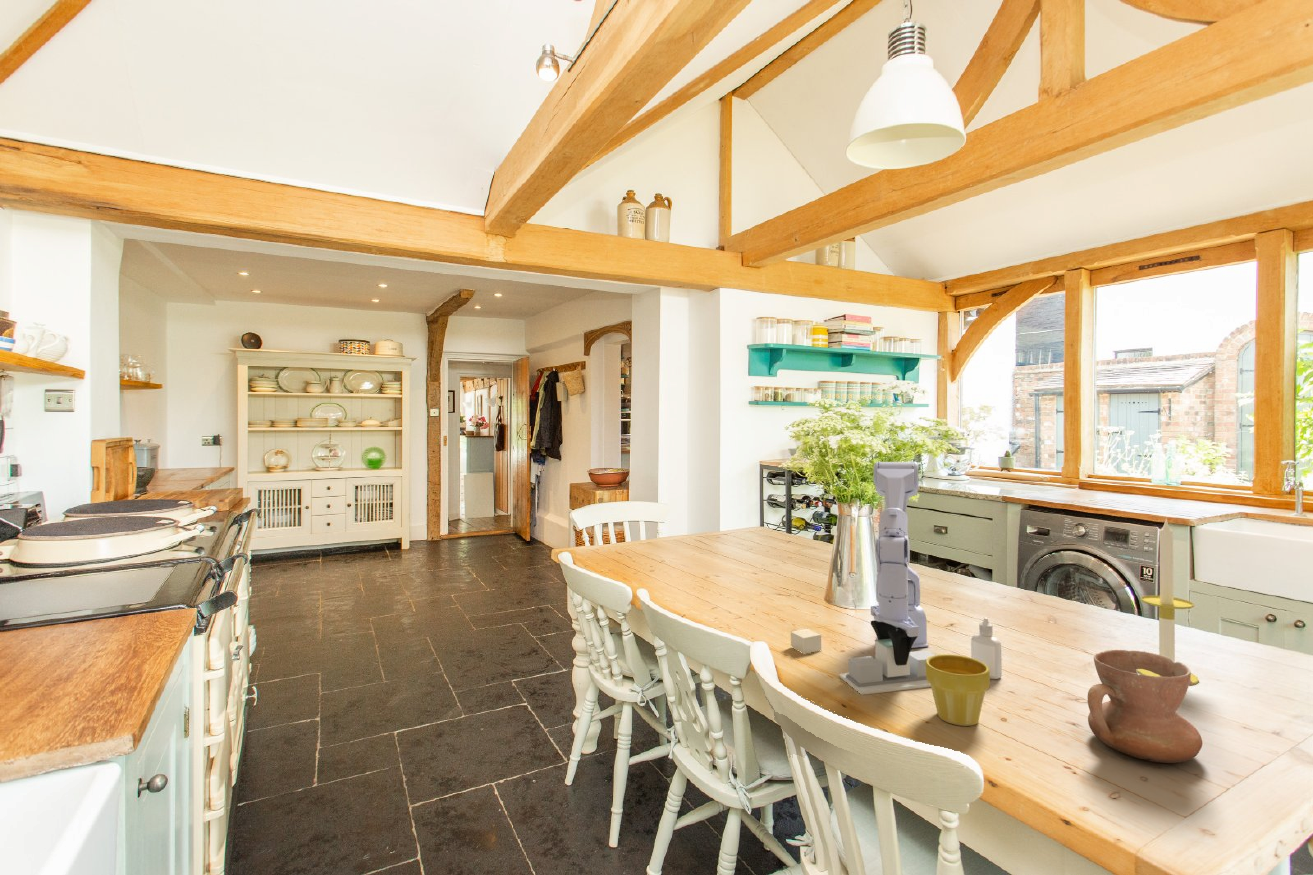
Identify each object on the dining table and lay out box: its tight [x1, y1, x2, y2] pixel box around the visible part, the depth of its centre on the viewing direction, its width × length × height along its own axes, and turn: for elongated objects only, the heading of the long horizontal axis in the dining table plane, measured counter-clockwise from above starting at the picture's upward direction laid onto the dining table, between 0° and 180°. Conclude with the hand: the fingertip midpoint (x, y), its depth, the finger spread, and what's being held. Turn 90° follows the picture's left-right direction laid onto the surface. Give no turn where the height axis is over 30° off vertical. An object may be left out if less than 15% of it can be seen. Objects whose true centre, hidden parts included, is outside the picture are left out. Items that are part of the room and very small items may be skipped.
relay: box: [790, 628, 822, 655], centre depth 147 cm, size 5×5×4 cm
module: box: [874, 639, 910, 677], centre depth 128 cm, size 5×4×6 cm
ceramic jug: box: [1087, 649, 1203, 764], centre depth 100 cm, size 18×14×14 cm
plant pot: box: [926, 653, 991, 727], centre depth 112 cm, size 10×10×10 cm
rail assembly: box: [838, 649, 935, 696], centre depth 128 cm, size 20×9×5 cm, turn 101°
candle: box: [1136, 518, 1200, 686], centre depth 128 cm, size 10×10×32 cm
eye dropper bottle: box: [970, 617, 1003, 680], centre depth 130 cm, size 4×6×12 cm
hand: (894, 659), depth 128 cm, fingers closed on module, 4 cm apart
